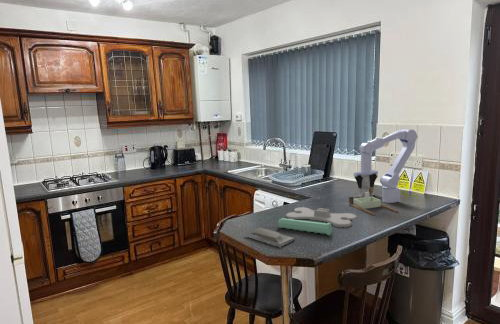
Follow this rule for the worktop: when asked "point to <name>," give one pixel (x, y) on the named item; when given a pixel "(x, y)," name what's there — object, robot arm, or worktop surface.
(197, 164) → the worktop surface
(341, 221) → the holder
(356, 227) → the worktop surface
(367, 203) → the green tray with post
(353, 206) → the bay
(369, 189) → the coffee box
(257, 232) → the grey stepped block
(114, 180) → the worktop surface
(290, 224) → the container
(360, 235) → the worktop surface
